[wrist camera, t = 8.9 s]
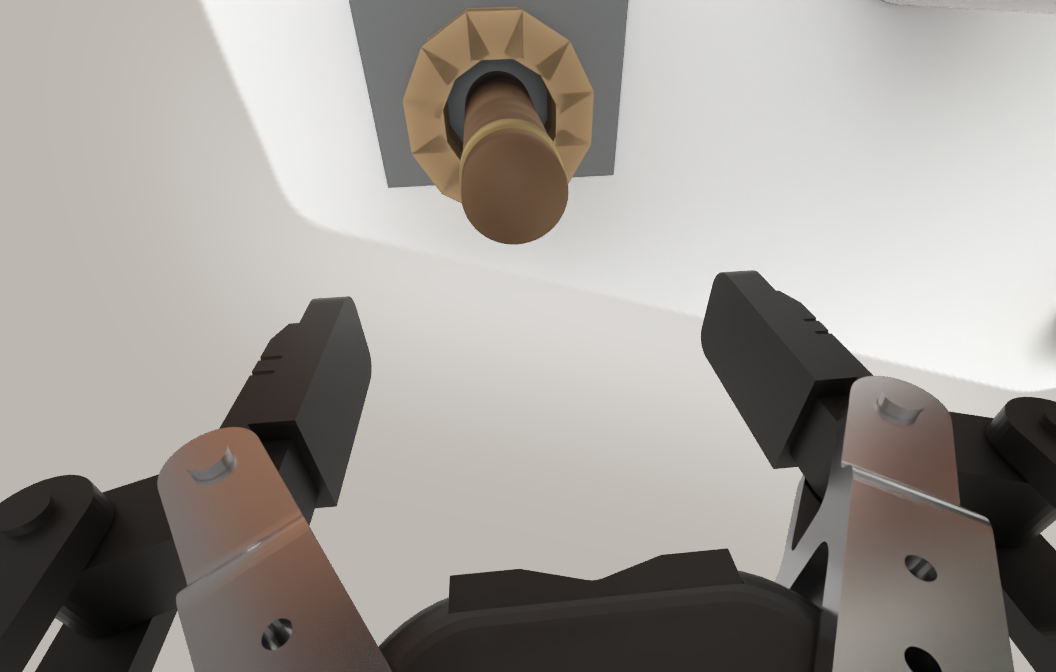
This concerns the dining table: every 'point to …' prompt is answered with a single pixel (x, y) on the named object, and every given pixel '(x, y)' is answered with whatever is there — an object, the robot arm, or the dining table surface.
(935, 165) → the dining table surface
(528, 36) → the tan faceted ring
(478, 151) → the banded wooden cylinder
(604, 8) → the mat
